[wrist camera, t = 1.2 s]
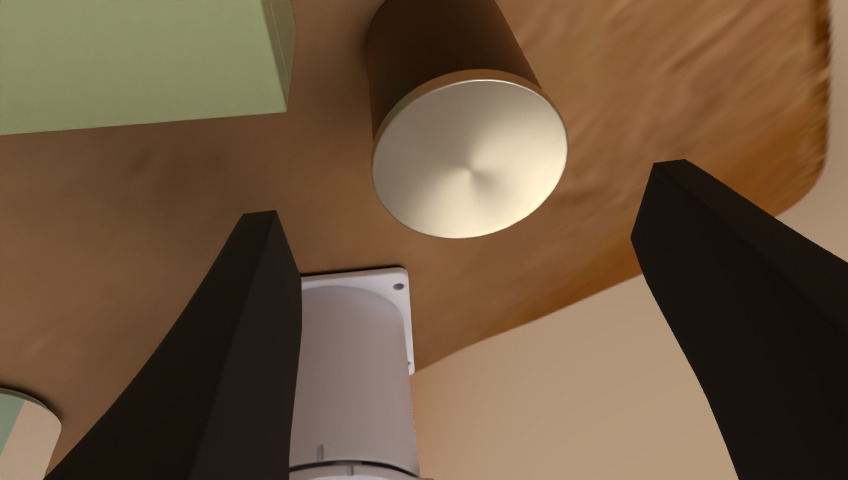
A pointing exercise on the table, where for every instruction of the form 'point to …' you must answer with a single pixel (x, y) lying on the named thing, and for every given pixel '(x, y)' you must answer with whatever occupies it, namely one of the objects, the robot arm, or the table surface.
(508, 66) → the canister
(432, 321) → the table surface
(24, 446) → the can
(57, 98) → the shelf
